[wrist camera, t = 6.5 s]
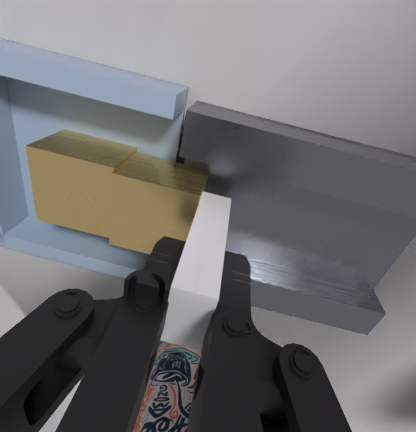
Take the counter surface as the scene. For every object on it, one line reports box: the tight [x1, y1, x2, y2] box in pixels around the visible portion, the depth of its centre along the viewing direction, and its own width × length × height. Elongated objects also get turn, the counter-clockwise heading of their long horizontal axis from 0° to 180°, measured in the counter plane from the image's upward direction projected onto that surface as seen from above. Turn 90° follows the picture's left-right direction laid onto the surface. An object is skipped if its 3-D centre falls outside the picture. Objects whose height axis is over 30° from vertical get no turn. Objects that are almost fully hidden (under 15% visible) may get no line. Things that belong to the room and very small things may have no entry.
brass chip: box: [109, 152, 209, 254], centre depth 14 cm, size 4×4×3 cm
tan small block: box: [26, 129, 138, 238], centre depth 14 cm, size 4×4×3 cm
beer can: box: [134, 341, 202, 432], centre depth 19 cm, size 5×5×12 cm
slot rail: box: [179, 101, 416, 335], centre depth 15 cm, size 10×13×2 cm
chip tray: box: [0, 39, 189, 279], centre depth 15 cm, size 11×10×2 cm
